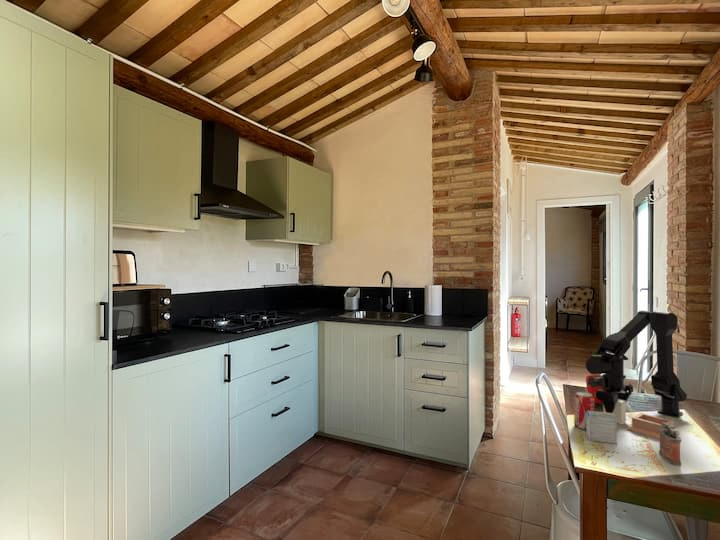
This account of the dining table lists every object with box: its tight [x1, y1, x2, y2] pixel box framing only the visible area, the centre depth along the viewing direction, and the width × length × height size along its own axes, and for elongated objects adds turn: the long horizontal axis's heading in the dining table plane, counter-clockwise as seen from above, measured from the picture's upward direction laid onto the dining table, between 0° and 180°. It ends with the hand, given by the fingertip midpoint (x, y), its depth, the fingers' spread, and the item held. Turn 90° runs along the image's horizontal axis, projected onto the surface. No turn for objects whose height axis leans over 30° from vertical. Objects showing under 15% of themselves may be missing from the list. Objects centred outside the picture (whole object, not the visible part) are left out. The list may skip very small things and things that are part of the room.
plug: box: [602, 399, 627, 425], centre depth 146 cm, size 4×6×8 cm, turn 36°
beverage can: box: [573, 391, 595, 431], centre depth 140 cm, size 6×6×12 cm
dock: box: [627, 412, 680, 440], centre depth 136 cm, size 10×12×4 cm
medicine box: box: [586, 410, 618, 444], centre depth 130 cm, size 8×4×9 cm, turn 71°
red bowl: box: [585, 374, 604, 406], centre depth 167 cm, size 13×17×10 cm
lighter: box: [658, 422, 682, 467], centre depth 117 cm, size 8×3×10 cm, turn 168°
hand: (614, 413), depth 146 cm, fingers open, 9 cm apart
